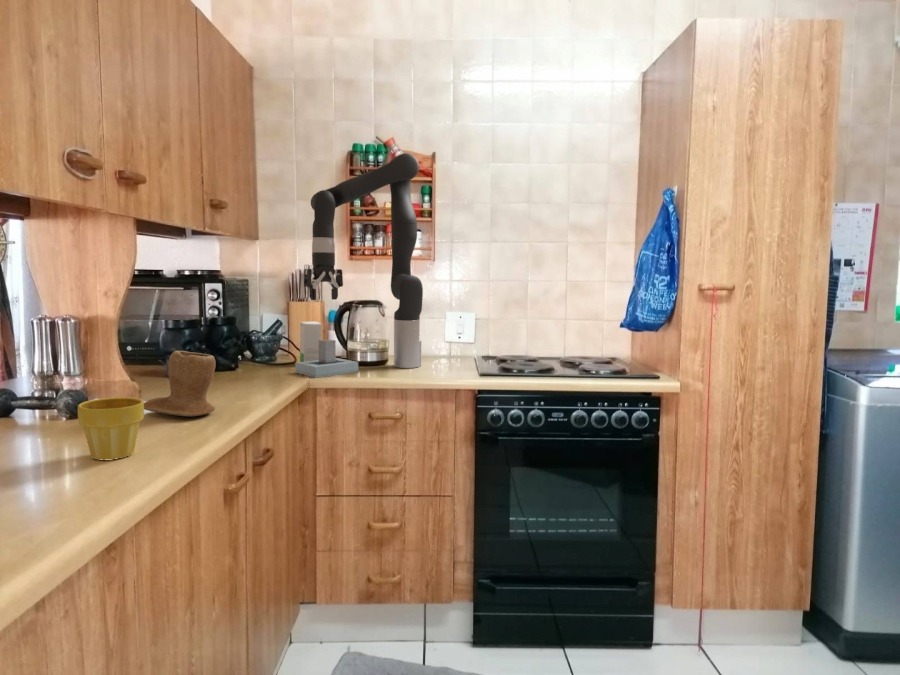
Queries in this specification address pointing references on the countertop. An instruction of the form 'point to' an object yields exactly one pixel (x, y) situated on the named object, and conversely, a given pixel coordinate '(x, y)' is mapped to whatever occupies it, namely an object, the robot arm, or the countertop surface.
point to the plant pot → (111, 425)
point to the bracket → (327, 351)
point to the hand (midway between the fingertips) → (324, 299)
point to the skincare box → (309, 340)
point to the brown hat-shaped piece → (186, 385)
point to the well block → (326, 368)
